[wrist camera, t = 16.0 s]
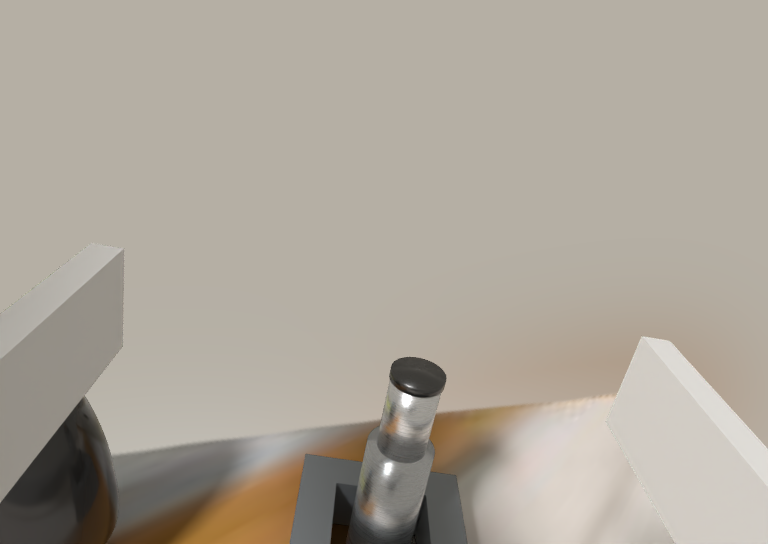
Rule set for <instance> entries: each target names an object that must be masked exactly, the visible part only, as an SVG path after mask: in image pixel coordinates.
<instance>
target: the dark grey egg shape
mask: <svg viewBox="0 0 768 544" xmlns="http://www.w3.org/2000/svg"><path fill="white" fill-rule="evenodd" d="M118 512H119V494H118V486H117V480H116V475H115V470H114V465H113V461H112V457H111V453H110V450H109V447H108V444H107V441H106V438H105V435H104V433H103V430H102V428H101V425H100V423H99V421H98V419H97V417H96V415H95V413H94V411H93V409H92V407H91V405H90V404H89V402H88V400H87V399H86V397H85V395H84V396H83V398H82V399H81V400H80V402H79V403H78V404H77V405H76V407H75V408H74V409H73V410H72V412H71V413H70V414H69V416H68V417H67V418H66V419H65V421H64V422H63V423H62V425H61V426H60V427H59V428H58V430H57V431H56V432H55V433H54V435H53V436H52V437H51V439H50V440H49V441H48V442H47V444H46V445H45V446H44V448H43V449H42V450H41V451H40V453H39V454H38V455H37V456H36V458H35V459H34V460H33V462H32V463H31V464H30V465H29V467H28V468H27V469H26V471H25V472H24V473H23V474H22V476H21V477H20V478H19V479H18V481H17V482H16V483H15V485H14V486H13V487H12V488H11V490H10V491H9V492H8V494H7V495H6V496H5V497H4V499H3V500H2V501H1V502H0V544H106V542H107V541H108V539H109V538H110V536H111V534H112V532H113V530H114V528H115V525H116V522H117V518H118Z"/></svg>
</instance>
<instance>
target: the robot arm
mask: <svg viewBox="0 0 768 544" xmlns="http://www.w3.org/2000/svg"><path fill="white" fill-rule="evenodd" d="M123 291H124V248H119V247H112V246H106V245H101V244H95V243H90V244H89V245H88V246H87V247H85V248H84V249H83V250H81V251H80V252H79V253H78V254H76V255H75V256H74V257H72V258H71V259H70V260H69V261H67V262H66V263H65V264H63V265H62V266H61V267H60V268H58V269H57V270H56V271H54V272H53V273H52V274H51V275H49V276H48V277H47V278H45V279H44V280H43V281H42V282H40V283H39V284H38V285H36V286H35V287H34V288H32V289H31V290H30V291H29V292H27V293H26V294H25V295H23V296H22V297H21V298H20V299H18V300H17V301H16V302H15V303H13V304H12V305H11V306H9V307H8V308H7V309H5V310H4V311H3V312H2V313H0V502H1V501H2V500H3V499H4V497H5V496H6V495H7V494H8V492H9V491H10V490H11V488H12V487H13V486H14V485H15V483H16V482H17V481H18V479H19V478H20V477H21V476H22V474H23V473H24V472H25V471H26V469H27V468H28V467H29V465H30V464H31V463H32V462H33V460H34V459H35V458H36V456H37V455H38V454H39V453H40V451H41V450H42V449H43V448H44V446H45V445H46V444H47V442H48V441H49V440H50V439H51V437H52V436H53V435H54V433H55V432H56V431H57V430H58V428H59V427H60V426H61V425H62V423H63V422H64V421H65V419H66V418H67V417H68V416H69V414H70V413H71V412H72V410H73V409H74V408H75V407H76V405H77V404H78V403H79V402H80V400H81V399H82V398H83V396H84V395H85V394H86V393H87V391H88V390H89V389H90V387H91V386H92V385H93V384H94V382H95V381H96V379H97V378H98V377H99V376H100V375H101V373H102V372H103V371H104V370H105V368H106V367H107V366H108V365H109V363H110V362H111V360H112V359H113V358H114V357H115V356H116V354H117V353H118V352H119V350H120V349H121V348H122V347H123ZM606 423H607V425H608V427H609V428H610V430H611V432H612V434H613V435H614V437H615V439H616V441H617V442H618V444H619V446H620V448H621V450H622V451H623V453H624V455H625V457H626V458H627V460H628V462H629V464H630V465H631V467H632V469H633V471H634V472H635V474H636V476H637V478H638V479H639V481H640V483H641V485H642V487H643V488H644V490H645V492H646V494H647V495H648V497H649V499H650V501H651V502H652V504H653V506H654V508H655V509H656V511H657V513H658V515H659V516H660V518H661V520H662V522H663V524H664V525H665V527H666V529H667V531H668V532H669V534H670V536H671V538H672V539H673V541H674V543H675V544H768V449H767V448H766V446H765V445H764V444H763V443H762V442H761V441H760V440H759V439H758V438H757V436H755V434H754V433H753V432H752V431H751V430H750V429H749V428H748V427H747V426H746V424H745V423H744V422H743V421H742V420H741V419H740V418H739V417H738V416H737V415H736V413H735V412H734V411H733V410H732V409H731V408H730V407H729V406H728V405H727V403H726V402H725V401H724V400H723V399H722V398H721V397H720V396H719V395H718V394H717V392H716V391H715V390H714V389H713V388H712V387H711V386H710V385H709V384H708V383H707V382H706V380H705V379H704V378H703V377H702V376H701V375H700V374H699V373H698V372H697V371H696V370H695V368H694V367H692V365H691V364H690V363H689V362H688V361H687V360H686V359H685V357H684V356H683V355H682V354H681V353H680V352H679V351H678V350H677V349H676V347H675V346H674V345H673V344H672V343H671V342H670V341H666V340H661V339H655V338H649V337H643V336H642V337H641V340H640V342H639V344H638V347H637V349H636V351H635V354H634V356H633V358H632V361H631V363H630V365H629V368H628V370H627V372H626V375H625V377H624V380H623V382H622V384H621V387H620V389H619V391H618V394H617V396H616V398H615V401H614V403H613V405H612V408H611V410H610V412H609V415H608V417H607V419H606Z"/></svg>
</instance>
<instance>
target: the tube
mask: <svg viewBox="0 0 768 544" xmlns="http://www.w3.org/2000/svg"><path fill="white" fill-rule="evenodd" d="M389 377H390V383H389V387H388V392H387V396H386V401H385V405H384V410H383V414H382V419H381V424H380V426H378V427H376V428H375V429H373V430H372V431H371V432H370V434H369V436H368V439H367V444H366V449H365V454H364V458H363V463H362V468H361V473H360V477H359V482H358V487H357V492H356V496H355V501H354V506H353V511H352V515H351V520H350V525H349V529H348V534H347V539H346V544H411V541H412V537H413V533H414V530H415V526H416V522H417V518H418V515H419V511H420V507H421V504H422V500H423V496H424V493H425V489H426V485H427V481H428V478H429V474H430V470H431V467H432V463H433V459H434V455H435V450H434V446H433V444H432V442H431V441H430V439H429V437H430V433H431V429H432V426H433V422H434V418H435V414H436V410H437V406H438V403H439V399H440V395H441V393H442V391H443V390H444V386H445V382H446V374H445V373H444V371H443V370H442V369H441V368H440V367H439V366H437V365H436V364H434V363H432V362H430V361H428V360H425V359H421V358H416V357H405V358H400V359H398V360H396V361H394V363H393V364H392V366H391V370H390V376H389Z"/></svg>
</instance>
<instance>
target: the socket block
mask: <svg viewBox="0 0 768 544" xmlns="http://www.w3.org/2000/svg"><path fill="white" fill-rule="evenodd" d="M362 463H363V462H359V461H352V460H345V459H338V458H330V457H323V456H316V455H309V454H306V455H305V461H304V466H303V472H302V477H301V483H300V488H299V494H298V500H297V505H296V511H295V516H294V522H293V527H292V533H291V539H290V544H330V541H331V531H332V523H333V524H341V525H348V526H349V525H350V520H351V515H352V511H353V506H354V501H355V496H356V492H357V487H358V482H359V477H360V473H361V468H362ZM413 534H416V544H467V538H466V532H465V526H464V520H463V514H462V508H461V502H460V496H459V490H458V484H457V478H456V475H450V474H443V473H436V472H430V474H429V478H428V481H427V485H426V489H425V493H424V496H423V500H422V504H421V507H420V511H419V515H418V518H417V522H416V526H415V530H414V533H413Z"/></svg>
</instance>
